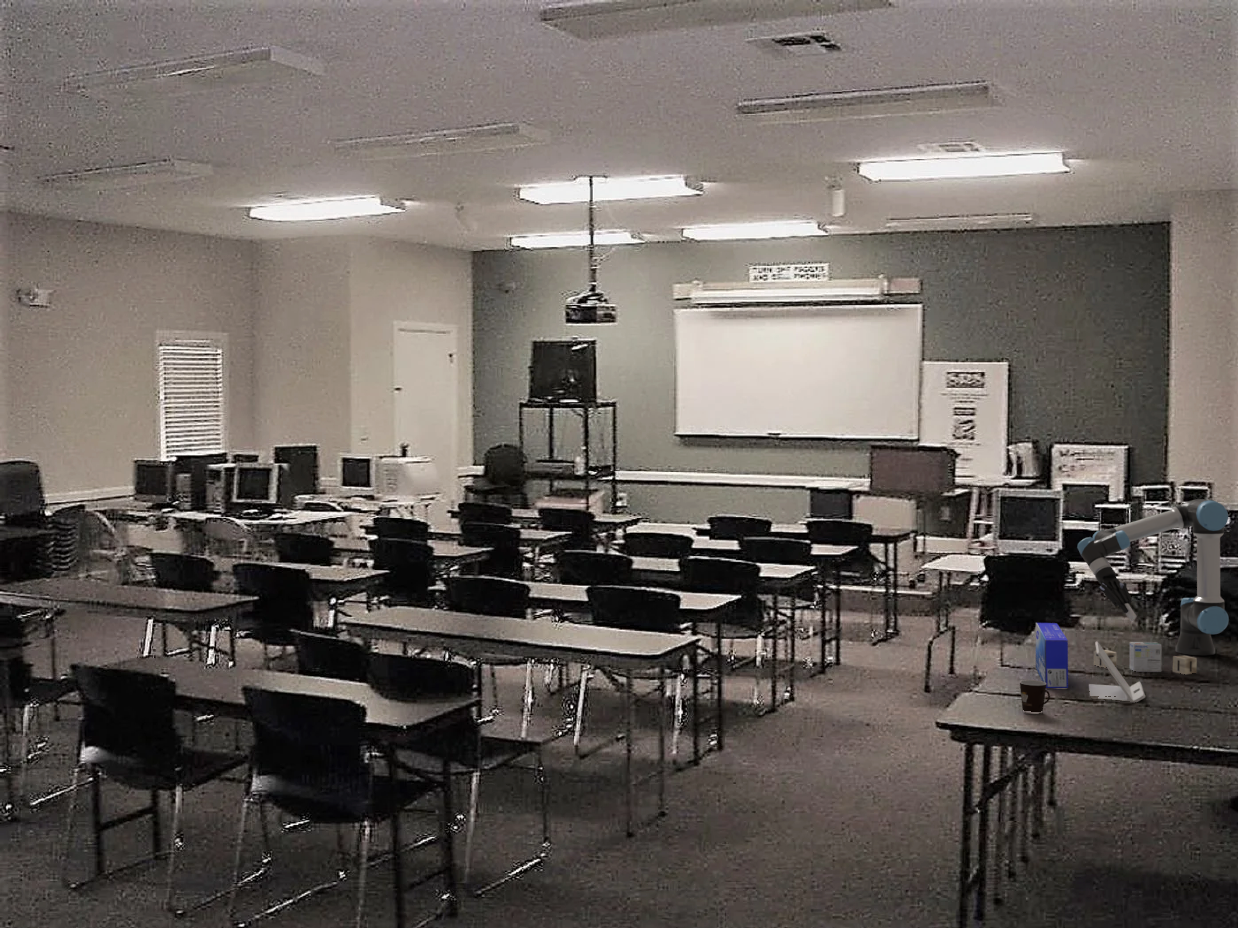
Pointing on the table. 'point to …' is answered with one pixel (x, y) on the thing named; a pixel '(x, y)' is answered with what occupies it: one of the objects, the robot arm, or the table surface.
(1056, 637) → the toner cartridge box
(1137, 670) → the light bulb box
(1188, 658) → the birch block one
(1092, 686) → the tablet stand
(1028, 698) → the coffee mug
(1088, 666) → the table surface
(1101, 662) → the birch block seven
